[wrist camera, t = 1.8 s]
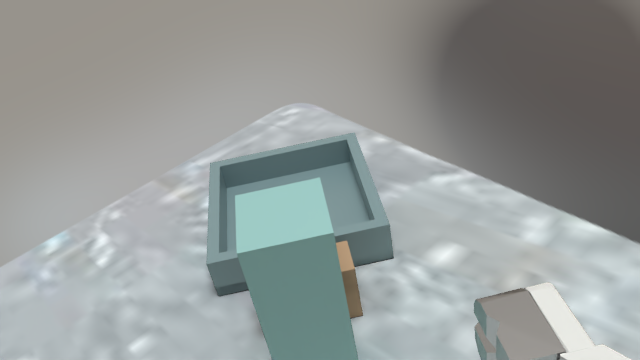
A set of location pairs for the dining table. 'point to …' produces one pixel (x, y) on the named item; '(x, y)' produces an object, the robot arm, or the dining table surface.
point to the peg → (294, 272)
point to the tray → (290, 167)
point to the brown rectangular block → (349, 279)
